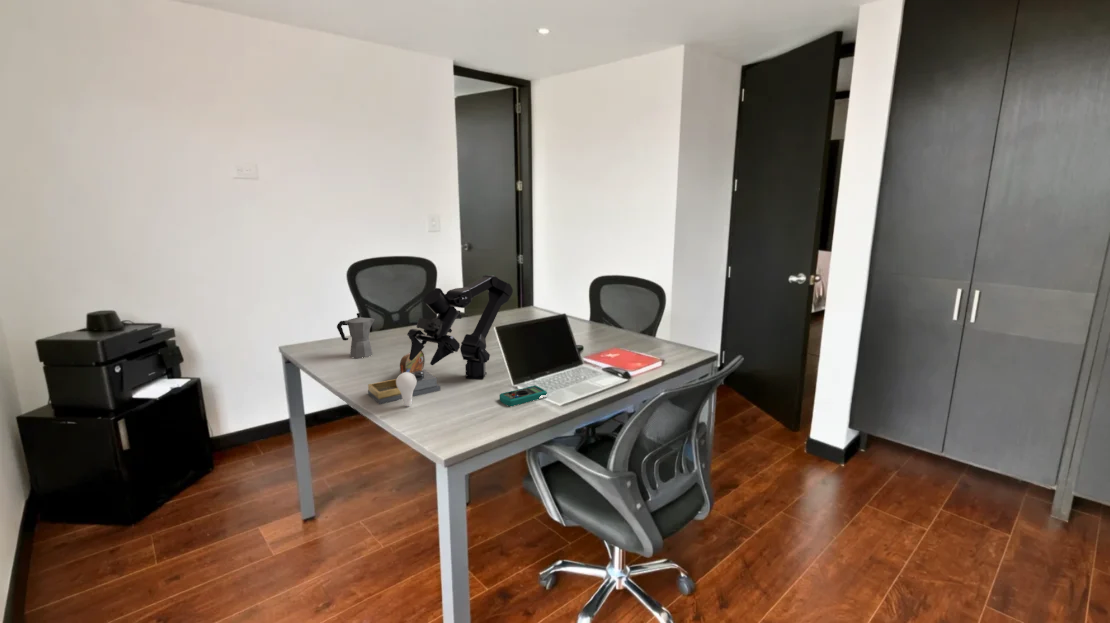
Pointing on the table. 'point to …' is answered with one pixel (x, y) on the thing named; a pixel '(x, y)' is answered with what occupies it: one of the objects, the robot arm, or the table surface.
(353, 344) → the coffeepot
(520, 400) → the digital multimeter
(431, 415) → the table surface
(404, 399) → the lightbulb
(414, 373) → the grey base with tray
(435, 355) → the robot arm
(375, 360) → the table surface
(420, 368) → the tin
